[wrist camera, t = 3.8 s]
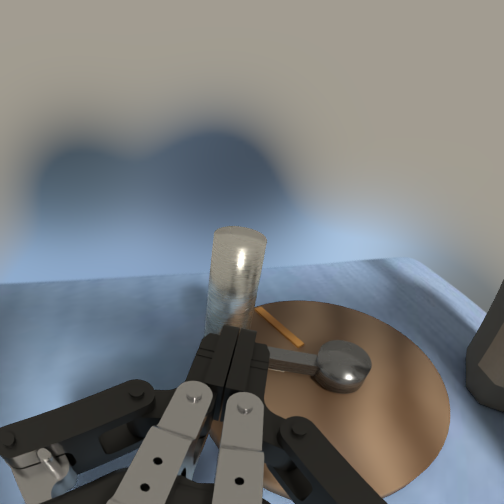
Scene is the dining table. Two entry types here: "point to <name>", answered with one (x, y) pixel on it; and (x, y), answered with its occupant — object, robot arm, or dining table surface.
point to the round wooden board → (357, 393)
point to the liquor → (488, 357)
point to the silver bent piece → (242, 306)
